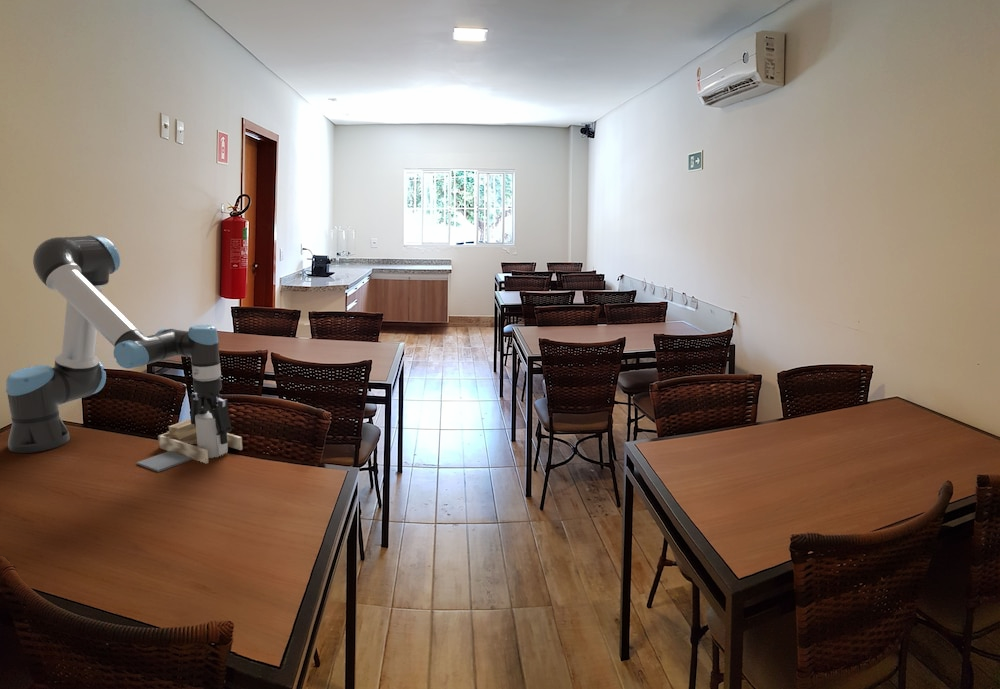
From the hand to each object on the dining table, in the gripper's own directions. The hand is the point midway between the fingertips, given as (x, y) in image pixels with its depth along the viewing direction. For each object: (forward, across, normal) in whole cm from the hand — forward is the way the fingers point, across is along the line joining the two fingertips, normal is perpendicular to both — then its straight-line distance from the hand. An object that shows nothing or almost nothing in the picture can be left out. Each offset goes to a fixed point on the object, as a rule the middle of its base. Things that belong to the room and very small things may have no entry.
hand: (213, 450), depth 187 cm
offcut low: (+1, -13, 0) cm, 13 cm away
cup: (+1, 0, 0) cm, 1 cm away
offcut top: (-2, -13, 0) cm, 13 cm away
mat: (+1, -6, -12) cm, 13 cm away
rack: (+1, -6, 0) cm, 6 cm away
